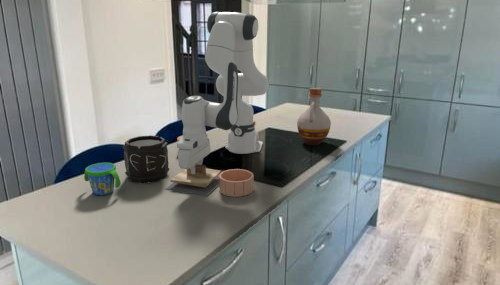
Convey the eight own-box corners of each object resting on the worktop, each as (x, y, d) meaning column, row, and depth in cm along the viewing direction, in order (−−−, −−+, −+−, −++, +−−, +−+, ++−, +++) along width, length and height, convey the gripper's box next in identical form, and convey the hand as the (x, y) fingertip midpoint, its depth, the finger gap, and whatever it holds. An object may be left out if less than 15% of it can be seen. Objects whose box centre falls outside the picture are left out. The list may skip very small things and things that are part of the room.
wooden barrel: (124, 187, 146) (120, 149, 142) (126, 171, 163) (123, 136, 158) (171, 182, 151) (168, 145, 146) (168, 167, 168) (166, 133, 163)
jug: (326, 150, 191) (330, 92, 182) (292, 147, 196) (294, 90, 187) (331, 140, 208) (335, 86, 199) (299, 137, 214) (302, 84, 205)
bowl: (227, 181, 152) (227, 167, 151) (257, 185, 148) (257, 171, 146) (214, 193, 141) (213, 179, 139) (246, 199, 136) (246, 183, 135)
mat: (187, 173, 161) (187, 172, 161) (226, 178, 155) (226, 177, 155) (165, 189, 144) (165, 188, 144) (207, 196, 139) (207, 195, 139)
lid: (189, 168, 159) (188, 157, 157) (221, 172, 154) (221, 161, 152) (170, 181, 145) (169, 170, 144) (205, 187, 140) (204, 175, 139)
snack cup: (128, 191, 143) (126, 166, 140) (106, 201, 134) (103, 175, 131) (101, 183, 150) (98, 159, 147) (78, 192, 141) (74, 167, 138)
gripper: (199, 130, 155) (201, 161, 159) (174, 145, 137) (176, 180, 141) (213, 132, 153) (214, 163, 157) (189, 147, 134) (191, 182, 139)
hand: (196, 171), depth 149 cm, fingers closed on lid, 3 cm apart
